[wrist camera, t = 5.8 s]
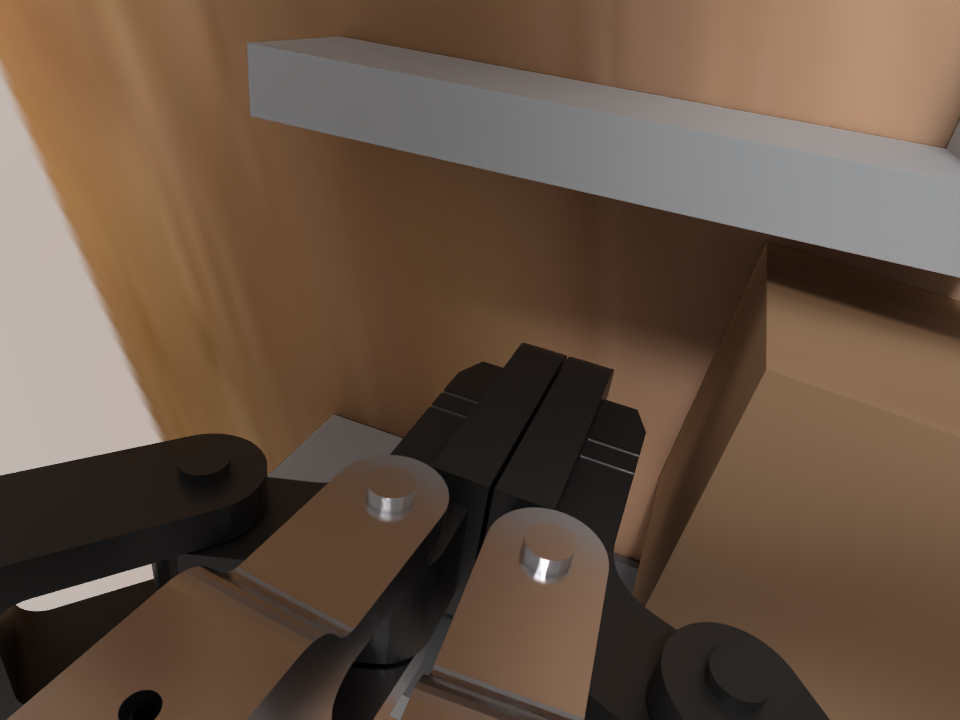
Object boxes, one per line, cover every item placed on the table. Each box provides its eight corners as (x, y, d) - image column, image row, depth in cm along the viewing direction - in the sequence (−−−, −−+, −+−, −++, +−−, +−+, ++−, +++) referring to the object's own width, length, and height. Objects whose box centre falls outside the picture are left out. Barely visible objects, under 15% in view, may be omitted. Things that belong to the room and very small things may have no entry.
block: (766, 241, 11) (766, 369, 7) (1285, 402, 9) (1643, 676, 5) (659, 476, 13) (617, 661, 9) (1048, 629, 12) (1179, 921, 8)
